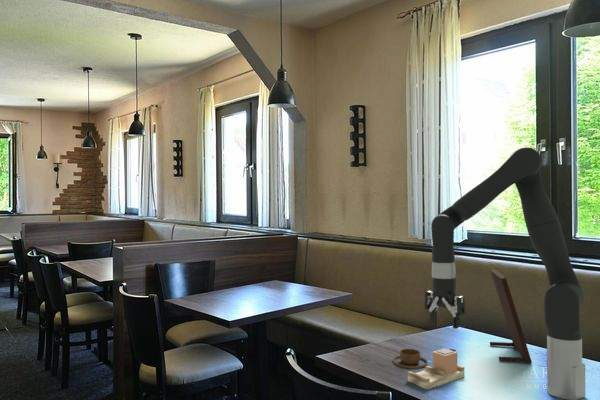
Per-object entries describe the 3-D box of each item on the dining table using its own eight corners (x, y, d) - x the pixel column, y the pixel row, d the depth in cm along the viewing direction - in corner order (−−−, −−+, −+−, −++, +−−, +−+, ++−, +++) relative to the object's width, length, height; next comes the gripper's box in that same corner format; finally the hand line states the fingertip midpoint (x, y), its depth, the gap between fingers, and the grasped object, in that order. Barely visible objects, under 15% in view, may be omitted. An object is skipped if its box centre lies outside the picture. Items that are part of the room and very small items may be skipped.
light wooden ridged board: (464, 376, 159) (464, 367, 159) (427, 389, 149) (427, 379, 149) (444, 369, 166) (444, 360, 166) (407, 381, 155) (407, 371, 155)
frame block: (457, 370, 159) (457, 351, 159) (445, 374, 156) (445, 355, 156) (444, 366, 163) (444, 347, 163) (432, 370, 160) (432, 351, 160)
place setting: (405, 355, 183) (405, 339, 183) (458, 366, 171) (458, 349, 171) (383, 368, 169) (383, 351, 169) (439, 381, 157) (439, 363, 157)
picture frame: (532, 364, 170) (531, 278, 170) (500, 362, 173) (499, 277, 172) (517, 346, 191) (517, 269, 191) (489, 344, 193) (488, 268, 193)
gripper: (469, 277, 156) (470, 328, 155) (433, 272, 167) (434, 319, 167) (454, 279, 151) (456, 332, 151) (418, 274, 163) (419, 323, 163)
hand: (444, 325), depth 159 cm, fingers open, 8 cm apart
